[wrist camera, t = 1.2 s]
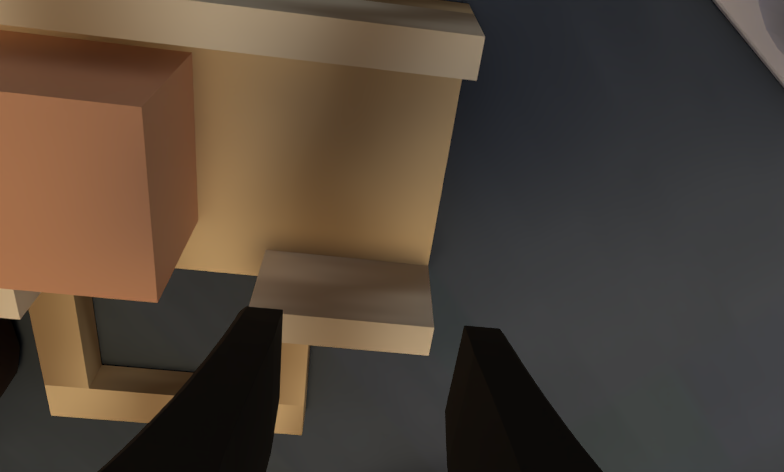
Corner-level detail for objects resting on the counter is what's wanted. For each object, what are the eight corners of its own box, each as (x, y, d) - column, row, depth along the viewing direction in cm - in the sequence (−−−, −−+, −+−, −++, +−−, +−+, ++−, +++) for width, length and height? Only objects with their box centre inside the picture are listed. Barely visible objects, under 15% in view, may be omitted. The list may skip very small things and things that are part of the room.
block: (192, 52, 17) (141, 107, 13) (198, 220, 19) (157, 302, 16) (-11, 28, 16) (-116, 78, 13) (24, 203, 19) (-57, 283, 15)
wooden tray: (468, 3, 17) (490, 46, 14) (395, 418, 25) (397, 513, 22) (-231, -86, 16) (-410, -64, 12) (-74, 380, 24) (-155, 474, 20)
